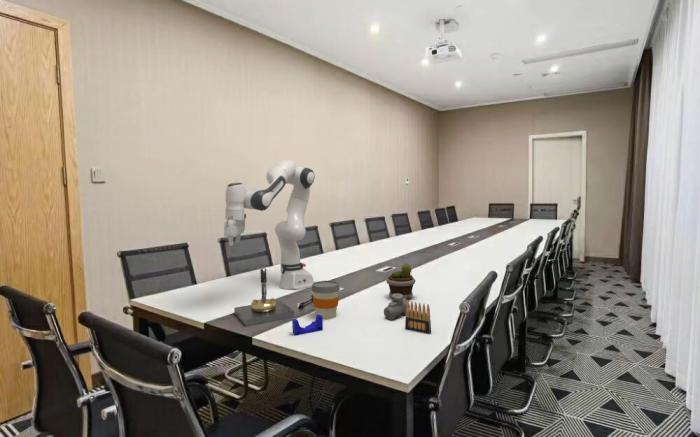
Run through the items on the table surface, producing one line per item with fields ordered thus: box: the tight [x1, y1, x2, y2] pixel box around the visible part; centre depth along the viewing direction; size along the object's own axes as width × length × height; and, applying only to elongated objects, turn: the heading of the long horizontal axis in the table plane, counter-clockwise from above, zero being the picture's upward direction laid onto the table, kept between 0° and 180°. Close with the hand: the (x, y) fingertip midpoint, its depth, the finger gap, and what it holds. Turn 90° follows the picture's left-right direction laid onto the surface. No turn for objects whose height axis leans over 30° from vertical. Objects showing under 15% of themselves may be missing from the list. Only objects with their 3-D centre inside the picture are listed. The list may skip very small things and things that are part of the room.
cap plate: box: [233, 300, 295, 327], centre depth 181 cm, size 22×20×3 cm
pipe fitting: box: [383, 293, 411, 320], centre depth 176 cm, size 12×8×10 cm
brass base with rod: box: [250, 267, 277, 312], centre depth 183 cm, size 17×11×17 cm, turn 10°
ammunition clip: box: [404, 300, 432, 335], centre depth 158 cm, size 11×2×12 cm, turn 56°
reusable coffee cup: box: [311, 280, 340, 320], centre depth 179 cm, size 13×12×15 cm
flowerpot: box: [385, 262, 416, 301], centre depth 205 cm, size 14×15×20 cm
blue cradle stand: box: [291, 314, 324, 336], centre depth 160 cm, size 12×4×6 cm, turn 117°
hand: (234, 243), depth 193 cm, fingers open, 8 cm apart
